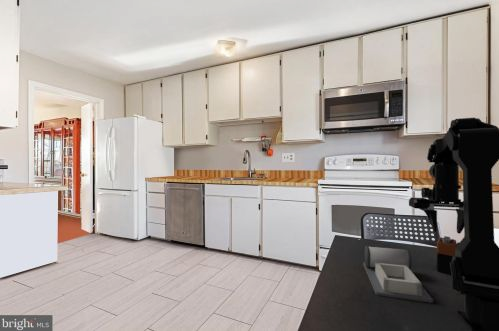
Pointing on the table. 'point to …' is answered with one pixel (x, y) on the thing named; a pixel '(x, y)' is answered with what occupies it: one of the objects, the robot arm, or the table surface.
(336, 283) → the table surface
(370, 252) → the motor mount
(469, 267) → the robot arm
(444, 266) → the battery
